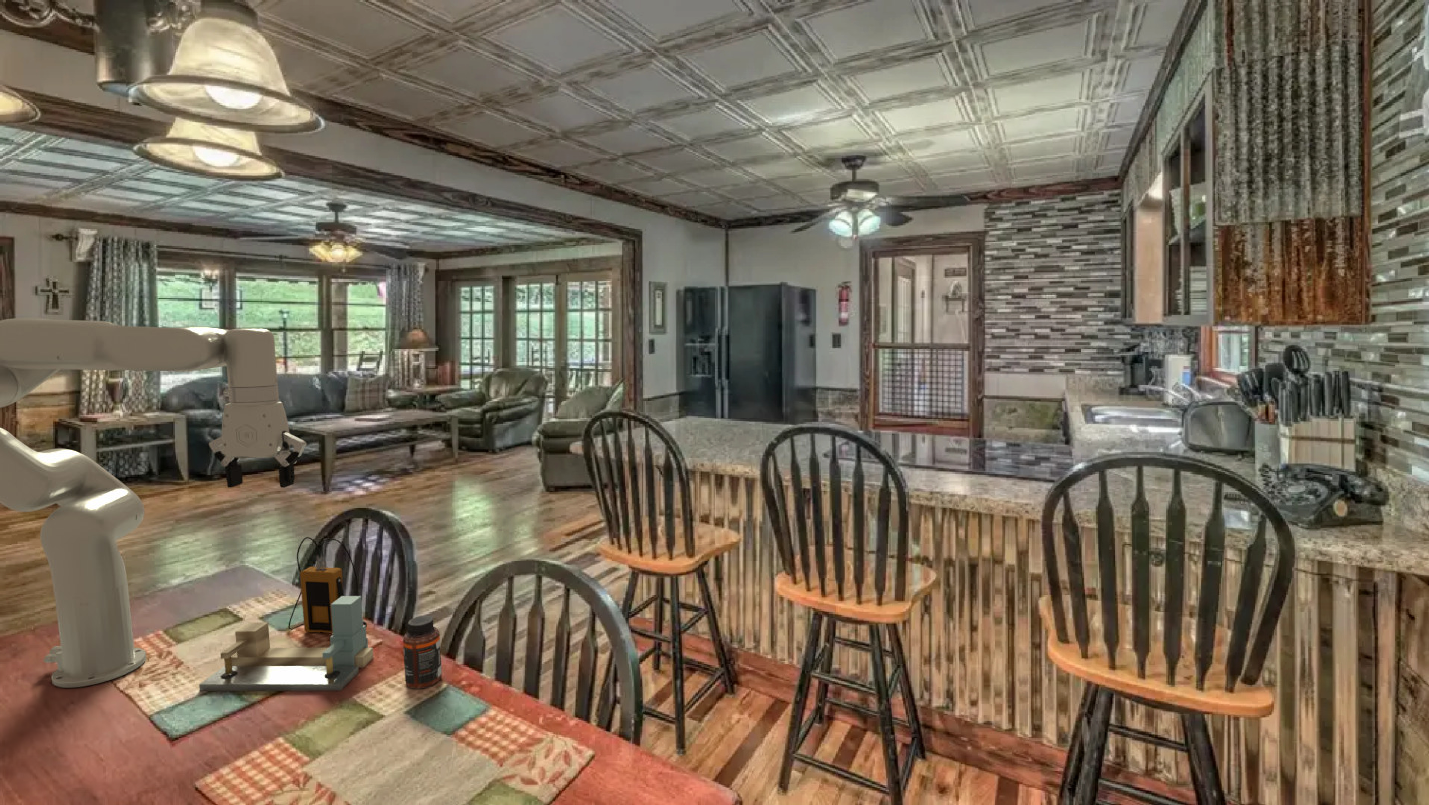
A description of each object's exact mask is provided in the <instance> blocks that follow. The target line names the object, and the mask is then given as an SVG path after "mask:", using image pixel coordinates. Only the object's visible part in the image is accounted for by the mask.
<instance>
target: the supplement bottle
mask: <svg viewBox="0 0 1429 805" xmlns="http://www.w3.org/2000/svg"><path fill="white" fill-rule="evenodd" d="M433 618H434V617H432V616H430V615H420V616H415V617H413V618H411V619H409V620H408V623H407V627H408V628H407V630H408V631H407V632H406V633H405V634H404V635H403V637H402V638H403V639H402V644H403V646H402V647H403V662H404V665H403V666H404V680H405V681H404V682H405V685H406V686H407V687H408V688H410V689H411V688H412V689H425V688H428V687H431V686H434V685H435V684H437V683H438V682H439V681H440V680H441V679H442V675H443V674H442V671H443V670H442V657H441V655H442V654H441V652H442V650H441V637H440V636H441V634H440V630H439V629H438V628H437V627H436V626H434V619H433Z"/></svg>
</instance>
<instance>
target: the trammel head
mask: <svg viewBox="0 0 1429 805" xmlns="http://www.w3.org/2000/svg"><path fill="white" fill-rule="evenodd" d="M362 606H363V605H362V595H358V596H356V595H344V596H341V597H340V598H339V599H337V600H336V601H335V602H333V603H332V604H331V613H332V628H333V634H331V636H330V637H329V638H330V639H329V641H330V642H329V643H330V646H329V647H327V648H328V649H326V650H325V651H324V652H323V658H326V669H327V674H330V673H332V672H333V666H355V661H354V656H355V655H356V654H357V653H358V652H359V651H360V650H361V649H362V648H369V642H368V637H367V626H366V625H365V624H364V623H363V620H364V618H363V607H362Z"/></svg>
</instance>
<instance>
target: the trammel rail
mask: <svg viewBox="0 0 1429 805" xmlns="http://www.w3.org/2000/svg"><path fill="white" fill-rule="evenodd" d="M234 633H235V634H234V635H235V643H233V644H232V645H230V646H229V647H227V648H226V649H224V650H223V651H221V652H220V659H224V666H225V673H226V674H230V673H232V672H233V671H232V666H326V658H323V652H324V651H325V650H326V649H328V648H329V647H271V643H270V642H271V640H270V630H269V622H248V623H246V624H244V625H243V626H241V627H240V628H238V629H236V630H235V631H234ZM373 658H374V647H368V648H362V649H361V650H360V651H359V652H358V653H357V654H356V655H355V656H354V661H355V666H358V668H364V667H366V666H367V664H369V663H370V662H371V661H372V659H373Z"/></svg>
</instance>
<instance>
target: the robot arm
mask: <svg viewBox="0 0 1429 805" xmlns="http://www.w3.org/2000/svg"><path fill="white" fill-rule="evenodd" d="M275 344H276V343H275V336H274V334H273V333H272V331H270V330H269V329H265V328H234V329H233V328H232V329H223V328H215V327H207V326H206V327H203V326H201V327H200V326H198V327H195V326H193V327H189V326H188V327H159V326H157V327H156V326H133V325H132V326H131V325H130V326H129V325H120V324H119V325H117V324H115V323H112V322H110V321H104V320H75V319H73V320H70V319H50V318H17V317H16V318H15V317H14V318H6V319H1V320H0V408H5V407H7V406H10V405H12V404H14V403H16V402H18V401H20V400H21V399H23V398H24V397H25V396H27V395H28V394H30V393H31V392H32V391H33V390H35V389H36V388H37V387H39V386H40V385H41V384H43V383H44V382H46V381H47V380H48V379H49V378H51V377H52V376H53V375H55V374H56V373H58V372H59V371H60V370H80V371H83V370H85V371H108V372H109V371H110V372H111V371H112V372H114V371H131V372H132V371H134V372H181V373H184V372H195V371H202V370H207V369H208V370H209V369H215V368H221V367H226V372H227V374H226V375H227V376H226V377H227V385H228V387H227V388H228V389H227V388H226V389H224V390H223V396H224V397H228V400H229V403H225V405H224V408H223V414H222V422H221V436H219V437H217V438H216V439H213V440H212V441H210V442H209V443H208V446H209V448H210V449H211V450H212V452H213V453H214V457H215V458H216V460H218V461H219V462H220V464H221V466H222V467H224V468H225V481H226V483H227V484H226V486H227V488H234V487H237V486H239V485H242V484H243V483H244V482H243V469H242V468H243V467H242V463H241V462H239V461H240V460H241V459H242V458H243V459H245V458H246V459H249V458H251V459H252V458H253V459H254V458H255V459H256V458H257V459H259V458H261V459H262V458H263V459H265V458H266V459H267V458H275V459H276V461H277V462H278V463H279V464H280V466H279V467H278V478H279V487H280V488H288V487H289V486H292V485H294V483H295V480H296V479H295V466H294V465H295V464H296V463H297V461H298V460H299V459H300V458H301V457H302V456H303V452H304V450H305V448H306V446H307V442H306V441H305V440H303V439H301V438H299V437H297V436H295V435H293V434H291V433H290V428H289V427H290V426H289V423H288V422H289V421H288V418H287V414H286V411H285V410H286V409H285V406H284V404H283V402H282V401H280V399H279V385H278V373H277V357H276V345H275ZM291 446H292V447H293V449H292V450H293V451H292V452H290V449H291ZM0 504H1V505H2V506H5V507H6V508H8V509H9V510H13V511H16V512H20V513H22V512H23V513H27V512H35V511H39V510H42V509H45V508H48V507H49V506H53V505H55V504H56V505H58V506H59V507H58V508H57V509H56V510H54V511H53V512H51V514H50V515H48V517H47V518H46V519H45V520H44V522H43V523H42V525H41V529H40V538H39V539H40V543H41V547H42V550H43V552H44V554H45V557H46V559H47V562H48V566H49V571H50V575H51V582H52V588H53V595H54V601H55V608H56V617H57V619H56V620H57V624H58V634H59V643H60V644H59V645H55V646H53V647H52V648H50V650H49V654H46V655H45V656H44V658H43V663H46V664H47V663H48V664H49V663H50V664H51V663H52V664H53V663H56V667H57V668H56V669H55V670H54V672H53V673H52V674H51V683H52V685H53V686H56V687H58V688H64V689H65V688H66V689H68V688H69V689H70V688H71V689H72V688H83V687H87V686H93V685H97V684H100V683H104V682H105V683H106V682H108V681H111V680H114V679H117V678H119V677H122V676H125V675H127V674H129V673H131V672H133V671H134V670H136V669H138V668H139V667H140V666H142V665H143V664H144V663H145V662H146V660H147V653H146V652H147V651H146V650H145V649H143V648H141V647H135V642H134V634H133V623H132V614H131V612H132V611H131V604H130V596H129V594H130V593H129V586H128V585H129V584H128V580H127V577H128V576H127V571H126V570H127V569H126V566H125V565H126V564H125V562H124V559H123V557H122V554H121V552H120V551H119V548H118V544H117V542H118V540H121V539H122V538H123V537H126V536H127V535H129V534H130V533H132V532H133V531H134V530H136V529H137V528H138V527H139V526H140V525H141V524H142V522H143V520H144V518H145V506H144V503H143V501H142V500H141V498H140V497H139V496H138V495H137V493H135V492H134V491H133V490H132V489H130V488H129V487H128V486H127V485H125V484H124V483H123V482H122V481H121V480H119V479H118V478H117V477H115V476H114V475H112V474H111V472H108V471H107V470H106V469H105V468H103V467H102V466H101V465H100V464H98V463H97V462H96V461H95V460H93V459H92V458H90V457H89V456H87V455H86V454H83V453H80V452H78V451H76V450H73V449H67V448H50V449H44V450H41V451H36V450H35V449H32V448H31V447H29V446H27V445H26V444H24V442H22V441H20V440H19V439H18V438H16V437H15V436H14V435H13V434H12V433H11V432H9V431H8V430H6V429H4V428H2V427H0Z"/></svg>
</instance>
